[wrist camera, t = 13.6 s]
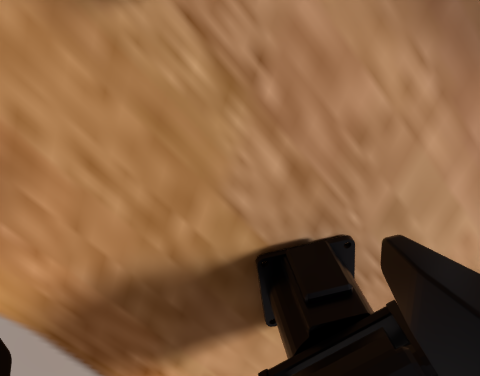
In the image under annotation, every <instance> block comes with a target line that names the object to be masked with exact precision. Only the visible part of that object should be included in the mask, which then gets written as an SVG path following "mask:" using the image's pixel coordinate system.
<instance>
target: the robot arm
mask: <svg viewBox="0 0 480 376" xmlns="http://www.w3.org/2000/svg"><path fill="white" fill-rule="evenodd" d="M347 242H348V243H347ZM345 243H347V244H345ZM344 244H345V245H344ZM264 261H267V262H266V263H262V262H264ZM256 266H257V272H258V278H259V285H260V291H261V298H262V304H263V310H264V317H265V321H266V324H267V325H268V326H270V327H272V326H278V329H279V332H280V336H281V339H282V342H283V345H284V348H285V351H286V354H287V357H288V359H287V360H285V361H283V362H282V363H280V364H278V365H276V366H274V367H272V368H271V369H269V370H268V369H265V370H263V371H261V372H260V373H258V376H480V274H479V273H477V272H475V271H473V270H471V269H469V268H467V267H465V266H463V265H461V264H459V263H457V262H455V261H453V260H451V259H449V258H447V257H445V256H443V255H441V254H439V253H437V252H435V251H433V250H431V249H429V248H427V247H425V246H423V245H421V244H419V243H417V242H415V241H413V240H411V239H409V238H407V237H405V236H402V235H395V236H390V237H386V238H384V239H383V241H382V249H381V269H382V272H383V275H384V277H385V279H386V281H387V283H388V285H389V287H390V289H391V291H392V293H393V295H394V298H395V300H396V301H395V300H393V301H391V302H389V303H387V304H386V306H385V307H384V308H382V309H380V310H378V311H376V312H373V310H372V308H371V307H370V305H369V303H368V301H367V300H366V298H365V296H364V295H363V293H362V291H361V290H360V288H359V286H358V285H357V283H356V281H355V279H354V270H355V242H354V240H353V239H352V237H351V236H348V235H347V236H341V237H337V238H333V239H328V240H324V241H319V242H315V243H311V244H306V245H302V246H297V247H293V248H289V249H284V250H280V251H276V252H271V253H267V254H263V255H260V256H259V257H257V259H256ZM396 302H397V303H396ZM272 319H273V320H272ZM11 363H12V359H11V354H10V352H9V350H8V348H7V347H6V346H5V344H4V343H3V341H2V340H1V338H0V376H10V372H11Z"/></svg>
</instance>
